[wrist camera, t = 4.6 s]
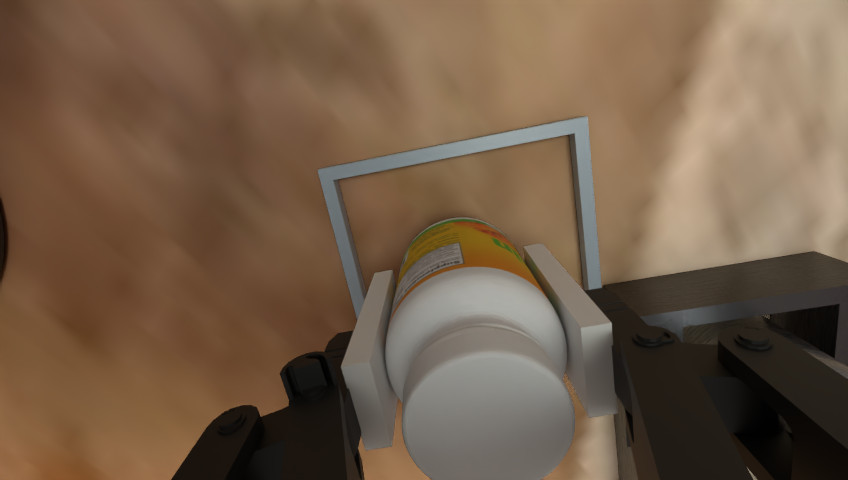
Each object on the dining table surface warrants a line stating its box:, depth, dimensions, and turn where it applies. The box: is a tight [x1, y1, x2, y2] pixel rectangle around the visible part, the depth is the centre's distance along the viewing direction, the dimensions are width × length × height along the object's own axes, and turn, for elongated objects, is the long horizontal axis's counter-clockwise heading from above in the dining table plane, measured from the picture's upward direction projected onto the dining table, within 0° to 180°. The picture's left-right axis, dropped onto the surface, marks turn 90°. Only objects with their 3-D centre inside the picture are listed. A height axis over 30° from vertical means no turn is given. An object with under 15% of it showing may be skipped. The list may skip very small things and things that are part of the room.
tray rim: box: [318, 116, 602, 320], centre depth 20 cm, size 12×12×1 cm
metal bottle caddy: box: [604, 251, 848, 480], centre depth 17 cm, size 10×15×10 cm, turn 11°
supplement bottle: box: [385, 217, 575, 480], centre depth 14 cm, size 5×5×10 cm
